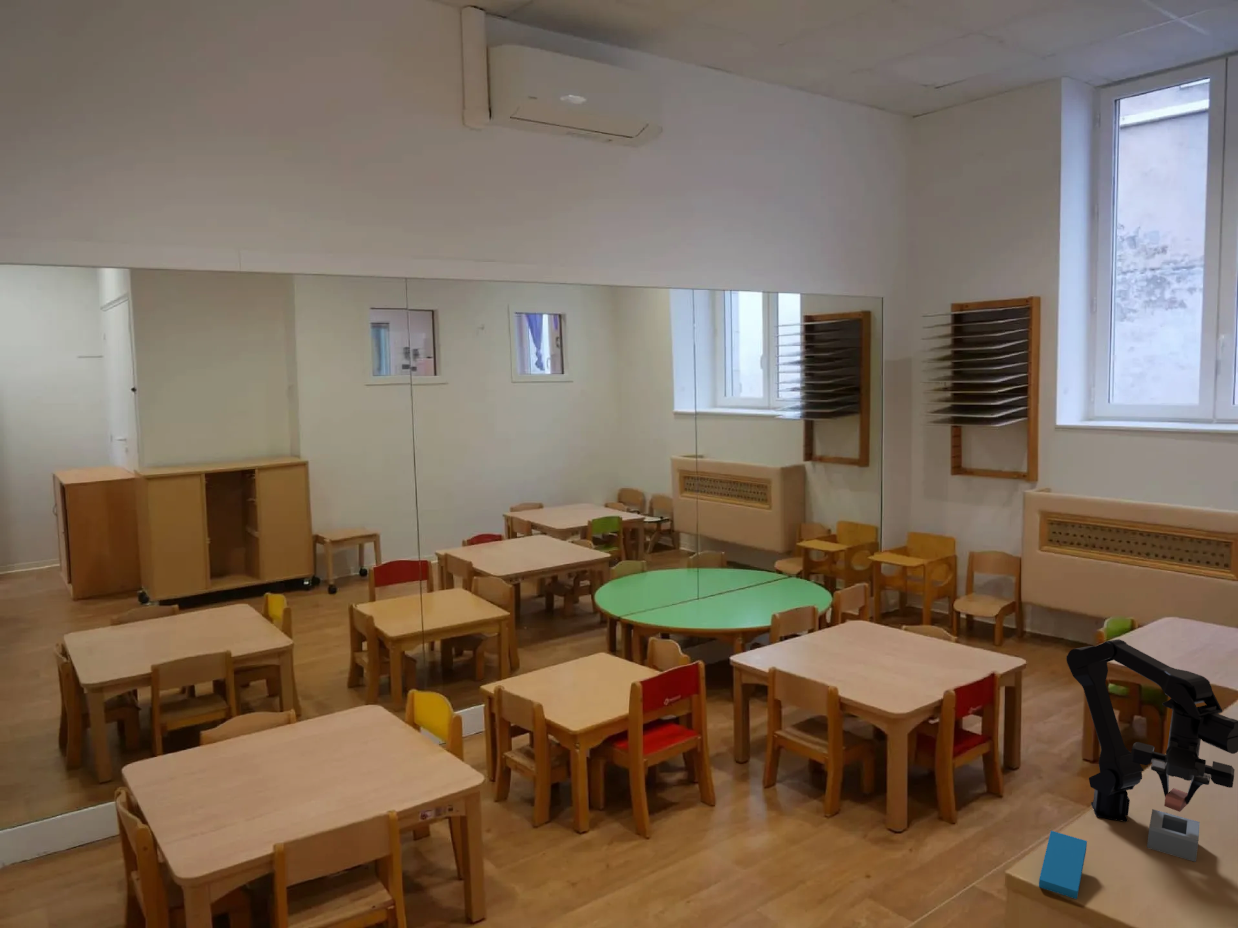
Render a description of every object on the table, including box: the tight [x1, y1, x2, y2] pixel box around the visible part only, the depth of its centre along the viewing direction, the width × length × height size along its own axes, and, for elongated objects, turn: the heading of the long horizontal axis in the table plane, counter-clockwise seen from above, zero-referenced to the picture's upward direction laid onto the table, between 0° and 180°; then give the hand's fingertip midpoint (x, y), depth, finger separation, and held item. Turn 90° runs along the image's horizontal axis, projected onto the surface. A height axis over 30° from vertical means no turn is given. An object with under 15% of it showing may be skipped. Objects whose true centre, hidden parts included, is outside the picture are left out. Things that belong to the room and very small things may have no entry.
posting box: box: [1146, 808, 1201, 863], centre depth 194 cm, size 9×9×5 cm
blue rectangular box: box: [1038, 830, 1088, 900], centre depth 184 cm, size 7×7×18 cm
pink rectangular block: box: [1164, 787, 1188, 813], centre depth 193 cm, size 5×3×2 cm, turn 131°
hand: (1176, 800), depth 193 cm, fingers closed on pink rectangular block, 3 cm apart
